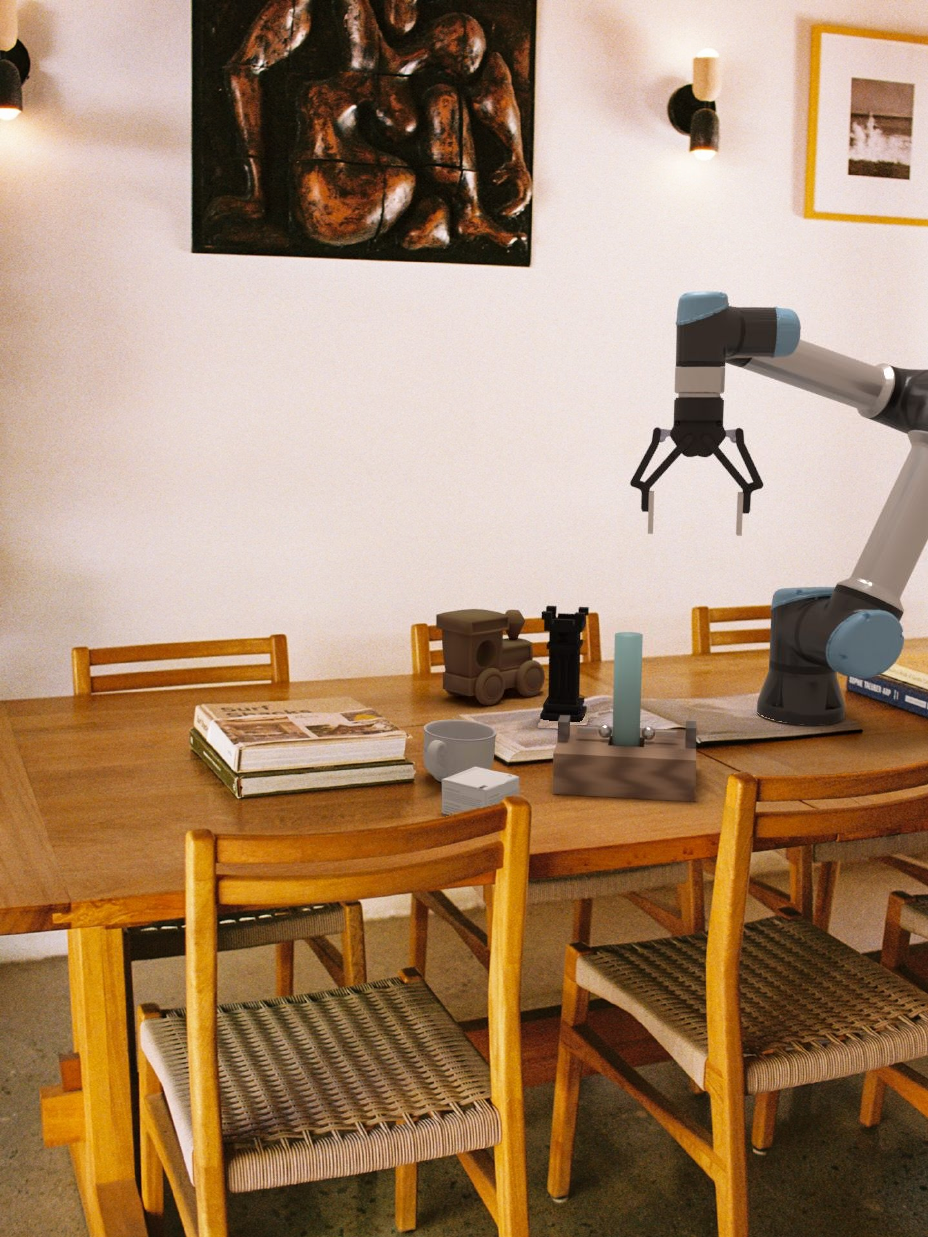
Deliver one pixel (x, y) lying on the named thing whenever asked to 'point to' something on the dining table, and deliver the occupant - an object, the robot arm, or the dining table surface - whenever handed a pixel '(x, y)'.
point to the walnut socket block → (625, 765)
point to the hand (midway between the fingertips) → (694, 534)
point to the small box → (476, 789)
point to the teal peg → (627, 689)
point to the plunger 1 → (596, 730)
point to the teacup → (457, 747)
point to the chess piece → (564, 664)
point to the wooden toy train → (487, 655)
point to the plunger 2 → (657, 733)
